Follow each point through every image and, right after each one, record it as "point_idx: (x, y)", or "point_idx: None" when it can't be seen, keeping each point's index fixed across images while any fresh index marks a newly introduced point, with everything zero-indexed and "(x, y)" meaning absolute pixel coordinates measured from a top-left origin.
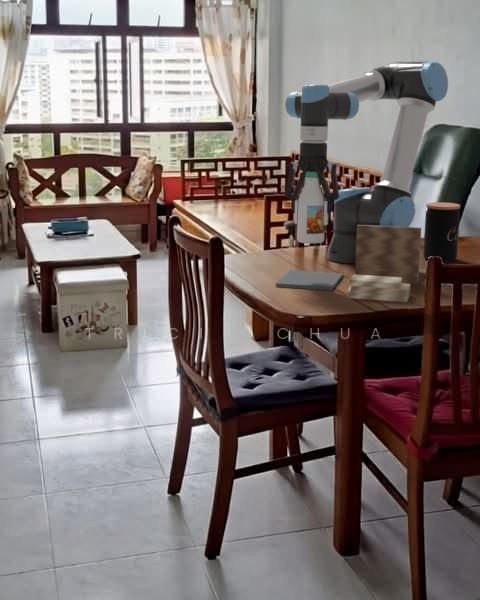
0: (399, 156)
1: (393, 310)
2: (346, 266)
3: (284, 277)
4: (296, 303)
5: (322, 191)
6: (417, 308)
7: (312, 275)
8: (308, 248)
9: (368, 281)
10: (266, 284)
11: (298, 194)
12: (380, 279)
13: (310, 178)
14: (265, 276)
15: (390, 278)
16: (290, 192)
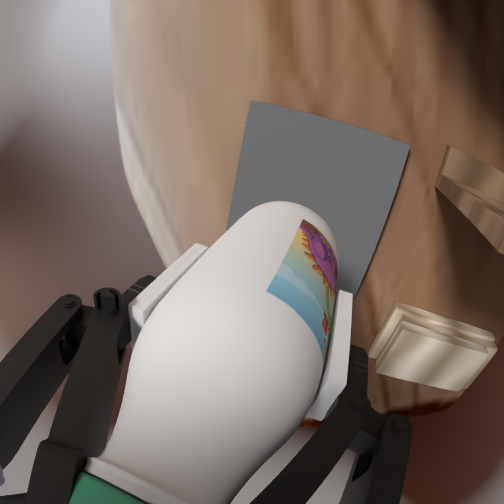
0: None
1: (417, 407)
2: (422, 7)
3: (238, 196)
4: None
5: (280, 441)
6: (456, 399)
7: (316, 169)
8: None
9: (410, 380)
10: (203, 230)
11: (116, 335)
12: (440, 370)
13: None
14: (192, 144)
15: (463, 362)
16: (68, 324)
